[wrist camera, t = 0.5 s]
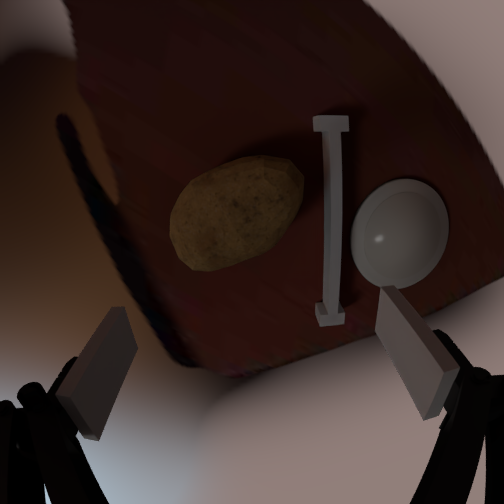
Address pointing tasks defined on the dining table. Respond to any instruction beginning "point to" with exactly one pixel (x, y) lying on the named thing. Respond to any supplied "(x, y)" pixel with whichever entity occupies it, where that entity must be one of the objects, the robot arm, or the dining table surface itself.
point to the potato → (235, 211)
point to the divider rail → (331, 216)
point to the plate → (399, 233)
